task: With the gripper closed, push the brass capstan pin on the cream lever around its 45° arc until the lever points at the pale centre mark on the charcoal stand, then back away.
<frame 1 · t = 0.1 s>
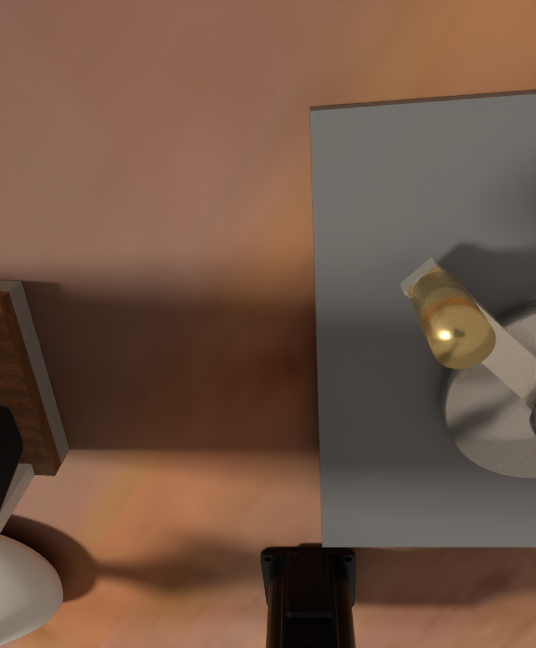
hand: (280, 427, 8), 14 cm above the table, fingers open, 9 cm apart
stand base: (533, 368, 24), on the table
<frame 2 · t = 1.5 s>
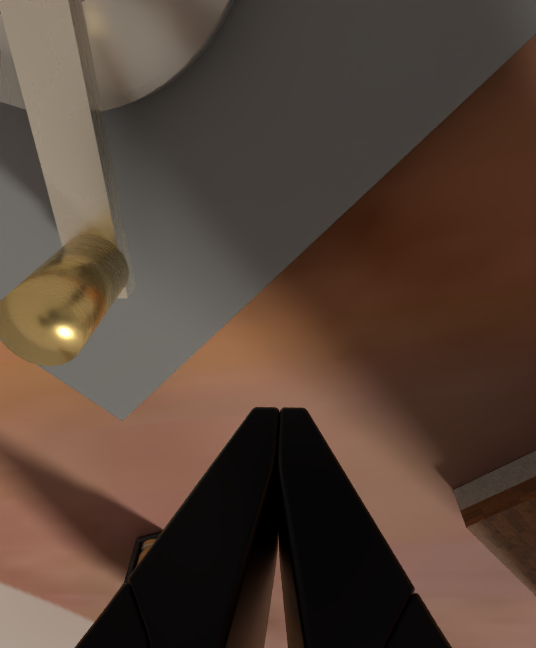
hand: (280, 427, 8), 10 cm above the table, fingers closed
ammunition clip: (196, 584, 28), on the table
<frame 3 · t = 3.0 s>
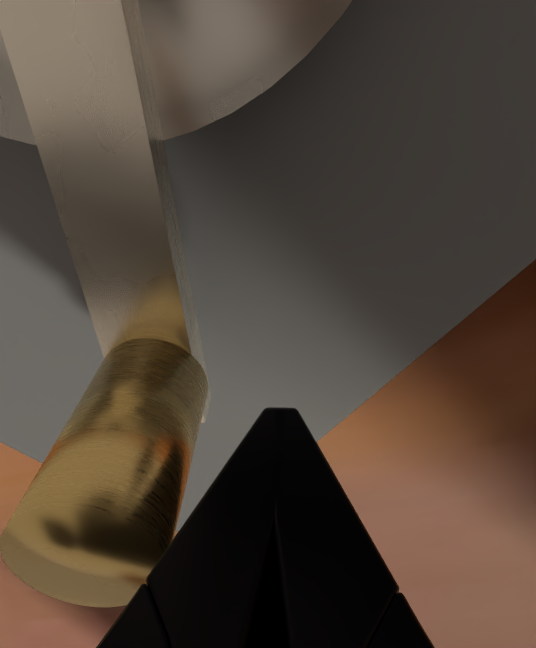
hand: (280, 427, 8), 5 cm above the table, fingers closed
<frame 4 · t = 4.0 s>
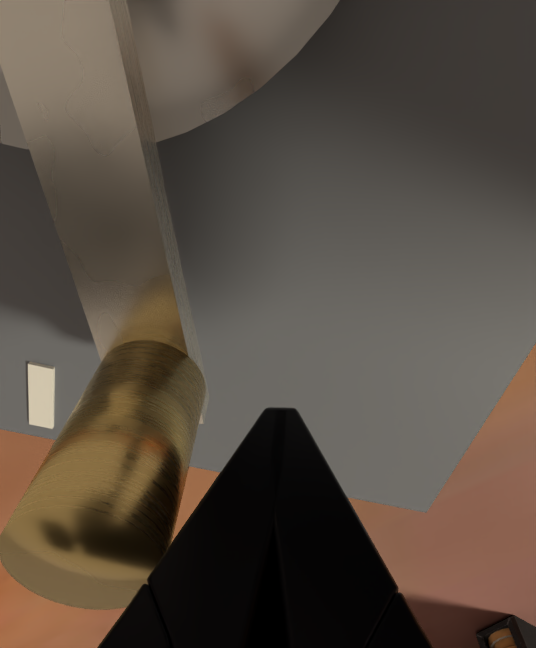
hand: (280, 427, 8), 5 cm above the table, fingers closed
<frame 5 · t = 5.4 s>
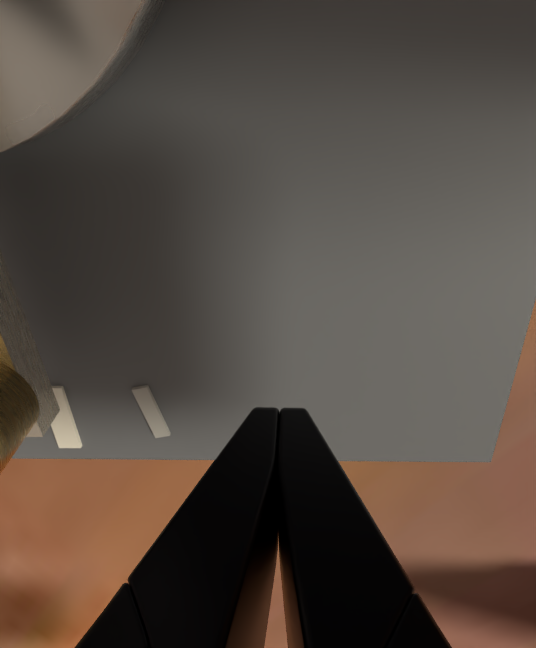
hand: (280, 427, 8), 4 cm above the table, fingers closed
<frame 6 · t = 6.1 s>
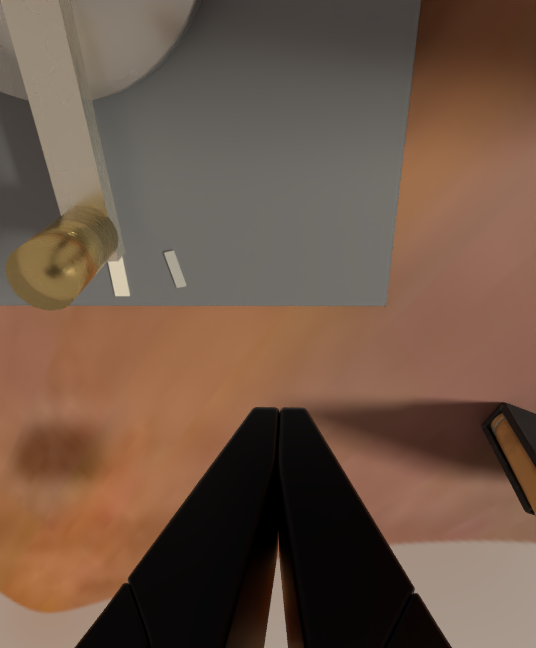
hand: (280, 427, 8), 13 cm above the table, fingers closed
capstan dial: (17, 4, 12), point 4 cm above the table, hinge at 1.3°
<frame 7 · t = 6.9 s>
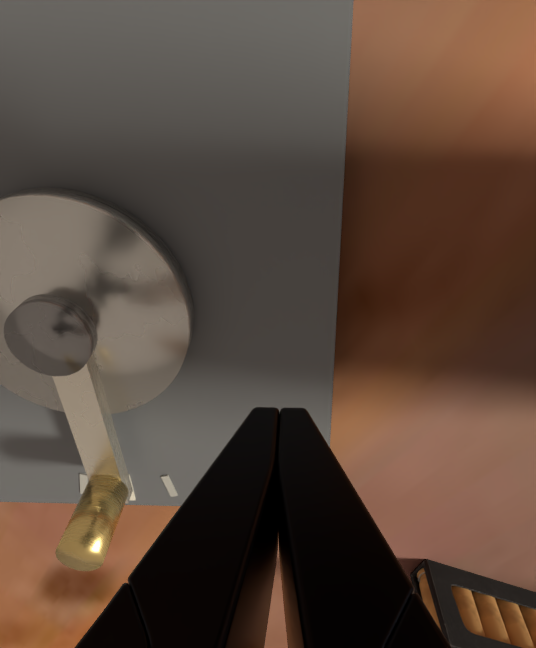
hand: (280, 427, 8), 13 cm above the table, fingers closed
capstan dial: (65, 393, 19), point 4 cm above the table, hinge at 1.3°
stand base: (90, 290, 21), on the table
ammunition clip: (486, 584, 31), on the table
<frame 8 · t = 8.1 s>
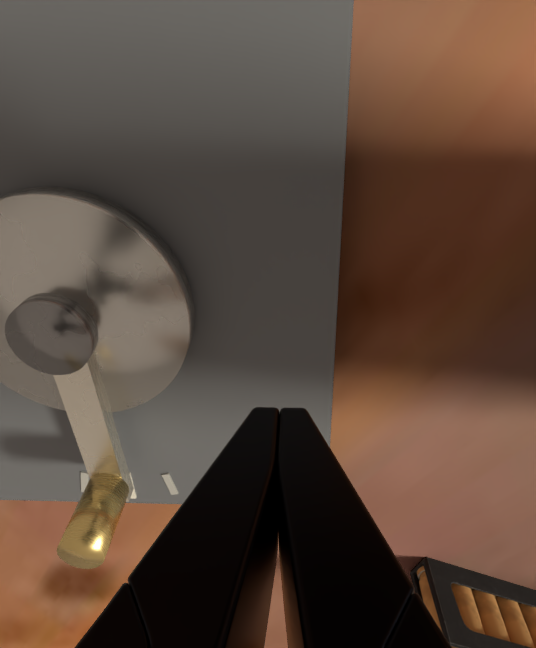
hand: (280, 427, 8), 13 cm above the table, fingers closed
capstan dial: (66, 392, 19), point 4 cm above the table, hinge at 1.3°
stand base: (90, 289, 21), on the table
ammunition clip: (486, 582, 32), on the table
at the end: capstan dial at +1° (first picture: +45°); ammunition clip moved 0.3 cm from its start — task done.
